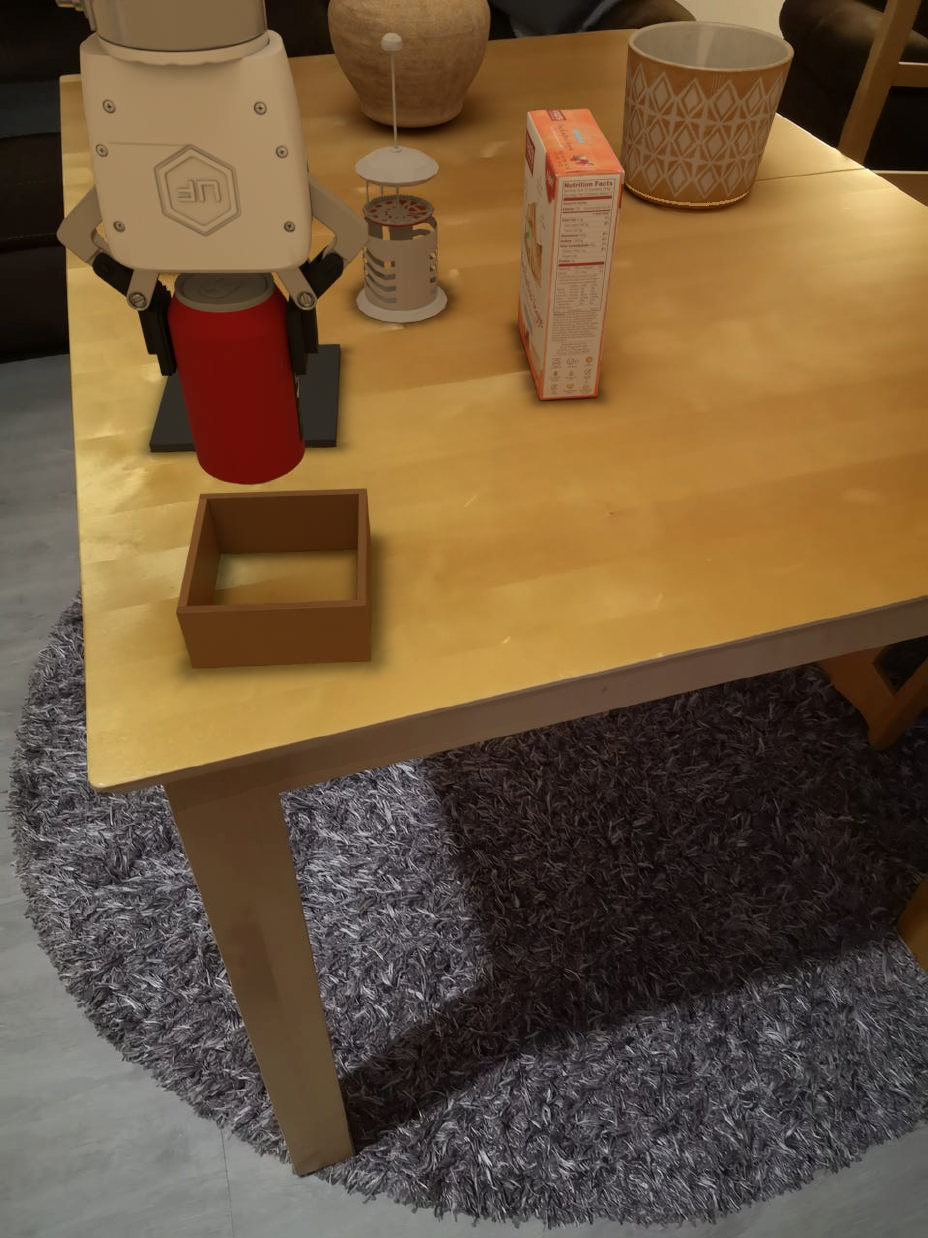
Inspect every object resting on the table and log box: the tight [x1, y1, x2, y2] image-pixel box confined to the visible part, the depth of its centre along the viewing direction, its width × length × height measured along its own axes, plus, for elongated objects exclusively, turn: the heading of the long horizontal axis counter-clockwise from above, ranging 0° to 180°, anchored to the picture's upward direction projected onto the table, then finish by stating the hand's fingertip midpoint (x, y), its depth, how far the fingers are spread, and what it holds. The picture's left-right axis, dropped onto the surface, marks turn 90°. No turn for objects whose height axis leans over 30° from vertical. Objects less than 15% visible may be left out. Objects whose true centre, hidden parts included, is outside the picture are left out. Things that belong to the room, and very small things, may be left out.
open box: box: [175, 488, 372, 669], centre depth 66 cm, size 12×12×6 cm
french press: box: [354, 33, 448, 324], centre depth 91 cm, size 10×12×25 cm
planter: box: [620, 20, 795, 211], centre depth 115 cm, size 19×19×16 cm
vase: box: [327, 0, 491, 129], centre depth 127 cm, size 22×22×30 cm
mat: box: [148, 343, 341, 453], centre depth 86 cm, size 16×16×1 cm
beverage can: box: [167, 272, 306, 486], centre depth 55 cm, size 7×7×12 cm
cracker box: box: [517, 108, 625, 401], centre depth 84 cm, size 14×6×21 cm, turn 6°
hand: (237, 360), depth 54 cm, fingers closed on beverage can, 6 cm apart
